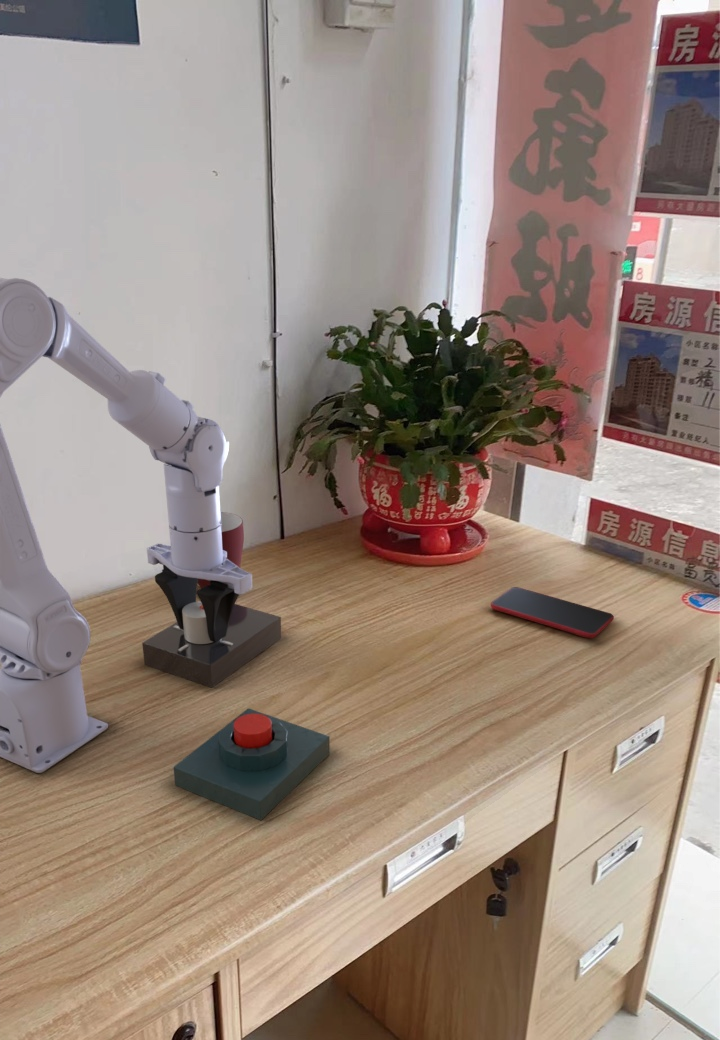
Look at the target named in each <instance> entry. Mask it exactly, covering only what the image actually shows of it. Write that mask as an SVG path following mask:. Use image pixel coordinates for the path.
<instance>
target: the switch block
mask: <svg viewBox="0 0 720 1040" xmlns="http://www.w3.org/2000/svg"><path fill="white" fill-rule="evenodd" d="M246 714H261V715H264V716H267V717H268V718H269V719H270V720H271V723H272V740H271V742H270V743H269V744H268V745H266V746H263V747H260V748H243V747H240V746H238V745H237V744H236V743H235V741H234V722H235V720H236V719H237V718H239V717H241V716H243V715H246ZM330 738H331V737H330V736H329V735H327V734H324V733H321V732H318V731H315V730H313V729H310V728H308V727H304V726H300V725H298V724H295V723H292V722H289V721H286V720H283V719H281V718H278V717H275V716H272V715H270V714H266V713H263V712H260V711H257V710H255V709H251V708H247V709H245V710H244V711H243V712H241V713H240V714H239V715H238V716H236V717H235V718H233V720H231V721H230V722H229V723H227V725H225V726H224V727H223V728H222V729H220V730H219V731H217V732H216V733H215V734H214V735H212V736H211V737H210V738H208V739H207V740H206V741H205V742H203V743H202V744H201V745H200V746H198V747H197V748H196V749H194V750H193V751H192V752H191V753H190V754H188V755H187V756H186V757H184V758H183V759H181V760H180V761H179V762H177V764H176V765H174V766H173V776H174V785H175V787H178V788H180V789H183V790H184V791H185V790H186V791H188V792H191V793H193V794H196V795H198V796H201V797H203V798H205V799H207V800H210V801H212V802H215V803H218V804H220V805H222V806H225V807H227V808H229V809H232V810H234V811H237V812H239V813H242V814H244V815H246V816H249V817H252V818H254V819H256V820H260V821H262V820H263V819H264V818H265V817H266V816H267V815H268V814H269V813H270V812H271V811H272V810H274V809H275V808H276V807H277V806H278V805H279V804H280V803H281V802H282V801H283V800H284V799H285V798H286V797H287V796H288V795H289V794H290V793H291V792H292V791H293V790H294V789H295V788H296V787H297V786H298V785H299V784H300V783H301V782H302V781H304V779H305V778H307V776H309V775H310V774H311V772H312V771H314V770H315V769H316V768H317V767H318V766H319V765H320V764H321V763H322V762H323V761H324V760H325V759H326V758H327V757H328V756H330V749H331V748H330V744H331V743H330V741H331V739H330Z"/></svg>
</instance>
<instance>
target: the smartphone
mask: <svg viewBox="0 0 720 1040" xmlns="http://www.w3.org/2000/svg"><path fill="white" fill-rule="evenodd" d="M490 607H491V608H492V609H493V610H494V611H498V612H501V613H504V614H508V615H511V616H514V617H518V618H521V619H524V620H527V621H531V622H533V623H537V624H540V625H544V626H547V627H551V628H554V629H558V630H561V631H564V632H566V633H570V634H573V635H575V636H579V637H582V638H586V639H594V638H596V637H597V636H598V635H599V634H600V633H601V632H602V631H603V630H604V629H606V627H607V626H608V625H610V623H611V622H613V621H614V620H615V616H614V614H612V613H610V612H607V611H604V610H600V609H597V608H593V607H590V606H586V605H582V604H579V603H575V602H572V601H568V600H564V599H562V598H558V597H555V596H550V595H548V594H544V593H541V592H536V591H533V590H529V589H526V588H522V587H519V586H513V587H511V588H509V589H508V590H506V591H505V592H504V593H502V594H501V595H500V596H498V597H497V598H495V599H493V600H492V601H491V602H490Z"/></svg>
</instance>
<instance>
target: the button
mask: <svg viewBox="0 0 720 1040" xmlns="http://www.w3.org/2000/svg"><path fill="white" fill-rule="evenodd" d="M236 718H237V717H236ZM271 740H272V723H271V720H270V719H269V718H268V717H267V716H264V715H261V714H246V715H243V716H241V717H239V718H237V719H236V720H235V722H234V741H235V743H236V744H237V745H238V746H240V747H243V748H260V747H263V746H266V745H268V744H269V743H270V742H271Z"/></svg>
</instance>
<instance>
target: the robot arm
mask: <svg viewBox="0 0 720 1040" xmlns="http://www.w3.org/2000/svg"><path fill="white" fill-rule="evenodd" d="M42 357H44V358H48V359H49V360H50V361H52V362H53V363H55V364H56V365H58V366H59V367H61V368H63V369H64V370H65V371H67V372H68V373H70V374H71V375H72V376H74V377H75V378H77V380H79V381H81V382H82V383H84V384H85V385H87V386H88V387H90V388H91V389H92V390H94V391H95V392H96V393H98V394H100V395H101V396H102V397H103V398H106V400H107V410H108V411H107V412H108V414H109V416H110V417H111V418H112V420H114V421H115V422H116V423H118V424H119V425H120V426H121V427H123V428H124V429H126V430H127V431H128V432H130V433H131V434H132V435H134V436H135V437H136V438H137V439H139V440H140V441H142V442H143V443H144V444H146V445H147V446H148V449H149V452H150V454H151V456H152V458H153V459H154V460H155V461H159V462H161V463H163V474H164V485H165V497H166V507H167V508H166V509H167V519H168V529H169V530H168V532H169V543H170V545H168V544H163V543H160V542H159V543H156V544H153V545H151V546H149V547H146V554H147V563H148V564H150V565H153V566H156V565H158V564H159V565H162V568H163V569H162V570H161V572H159V573H157V574H155V576H154V582H155V583H156V584H157V586H158V587H159V588H160V589H161V591H162V592H163V594H164V595H165V597H166V599H167V601H168V602H169V605H170V606H171V609H172V612H173V615H174V618H175V620H176V622H177V623H178V625H179V628H180V629H182V630H184V629H183V617H182V609H183V607H184V606H186V605H187V604H190V603H193V602H197V597H198V599H199V601H201V603H202V605H203V608H204V611H205V615H206V621H207V629H208V635H209V638H210V641H213V642H216V641H218V640H220V639H222V638H223V637H225V636H226V633H227V628H228V624H229V619H230V616H231V612H232V609H233V607H234V604H236V602H237V600H238V597H239V596H242V595H244V594H246V593H248V592H249V591H252V590H253V589H254V588H253V574H252V573H251V572H250V571H249V572H248V571H246V570H244V569H242V568H241V567H240V568H239V567H238V566H237V565H235V564H234V563H232V562H231V561H230V560H228V559H227V552H226V551H224V550H223V548H222V531H221V512H222V511H221V495H220V486H221V485H222V481H224V479H223V469H224V465H225V463H226V461H227V458H228V455H229V449H230V441H229V440H227V439H226V437H225V433H224V431H223V430H222V428H221V427H220V426H219V424H218V423H217V422H216V421H215V420H212V419H210V418H206V417H201V416H198V414H197V413H196V412H195V411H194V406H195V405H193V404H192V403H191V402H190V401H189V400H185V399H181V398H180V397H178V396H177V395H176V394H175V393H173V391H171V390H170V389H169V388H168V387H166V385H165V383H166V381H167V379H166V378H165V377H164V376H163V375H161V373H159V372H156V371H151V370H149V371H147V370H144V369H137V370H136V369H135V370H131V371H129V370H128V369H127V368H126V367H125V366H124V365H123V364H122V363H121V362H120V361H119V360H117V358H115V356H114V355H112V354H111V353H110V352H109V351H108V350H107V349H106V348H104V346H102V344H101V343H100V342H98V341H97V339H95V338H94V337H93V336H92V335H91V334H90V333H89V332H88V331H87V330H85V328H83V327H82V326H81V325H80V324H79V323H78V322H77V321H76V320H75V319H74V318H73V317H72V316H71V315H70V314H69V313H68V311H67V309H66V307H65V305H64V304H63V303H61V302H60V301H58V300H56V299H55V298H53V297H51V296H48V295H47V294H46V293H45V291H44V290H43V289H42V288H41V287H40V286H38V285H37V284H35V283H34V282H31V281H30V280H27V279H24V278H19V277H17V278H16V277H13V278H3V277H0V398H1V397H2V395H4V392H5V391H6V390H8V389H9V388H10V387H11V386H12V385H13V384H14V383H15V382H16V381H17V380H18V379H19V378H20V377H22V376H23V375H24V374H25V373H26V372H27V371H28V370H29V369H30V368H31V367H32V366H33V365H35V364H36V363H37V362H38V361H39V360H40V359H41V358H42ZM198 579H205V580H208V581H210V585H207V586H205V587H203V588H200V589H197V588H198ZM90 641H91V627H90V624H89V623H88V620H87V619H86V618H85V616H84V615H83V614H81V613H80V612H79V611H78V610H77V609H76V607H75V606H74V604H73V600H72V598H71V595H70V594H69V592H68V591H67V590H66V589H65V587H64V586H63V585H62V584H61V583H60V581H59V580H58V579H57V578H56V577H55V576H54V575H53V573H52V572H51V571H50V570H49V568H48V566H47V563H46V559H45V557H44V553H43V550H42V547H41V545H40V541H39V537H38V535H37V532H36V529H35V525H34V522H33V519H32V517H31V514H30V511H29V508H28V505H27V501H26V498H25V495H24V493H23V490H22V487H21V484H20V481H19V477H18V474H17V471H16V468H15V465H14V462H13V458H12V456H11V452H10V449H9V447H8V444H7V441H6V437H5V435H4V432H3V429H2V425H1V424H0V758H2V759H4V760H7V761H9V762H11V763H14V764H15V765H18V766H20V767H22V768H25V769H27V770H29V771H32V772H34V773H37V774H41V773H44V772H46V771H47V770H48V769H50V768H51V767H53V766H54V765H56V764H57V763H59V762H60V761H62V760H63V759H65V758H66V757H68V756H70V754H72V753H74V752H75V751H76V750H78V749H80V748H81V747H82V746H84V745H85V744H87V743H88V742H90V741H91V740H93V739H94V738H96V737H97V736H99V735H100V734H102V733H103V732H105V731H106V730H107V729H108V728H109V724H108V723H107V722H106V721H102V720H99V719H97V718H95V717H93V716H89V715H88V710H87V709H88V708H87V702H86V697H85V689H84V682H83V677H82V671H81V664H82V663H83V658H84V657H85V655H86V654H87V651H88V649H89V646H90V644H91V643H90Z"/></svg>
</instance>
